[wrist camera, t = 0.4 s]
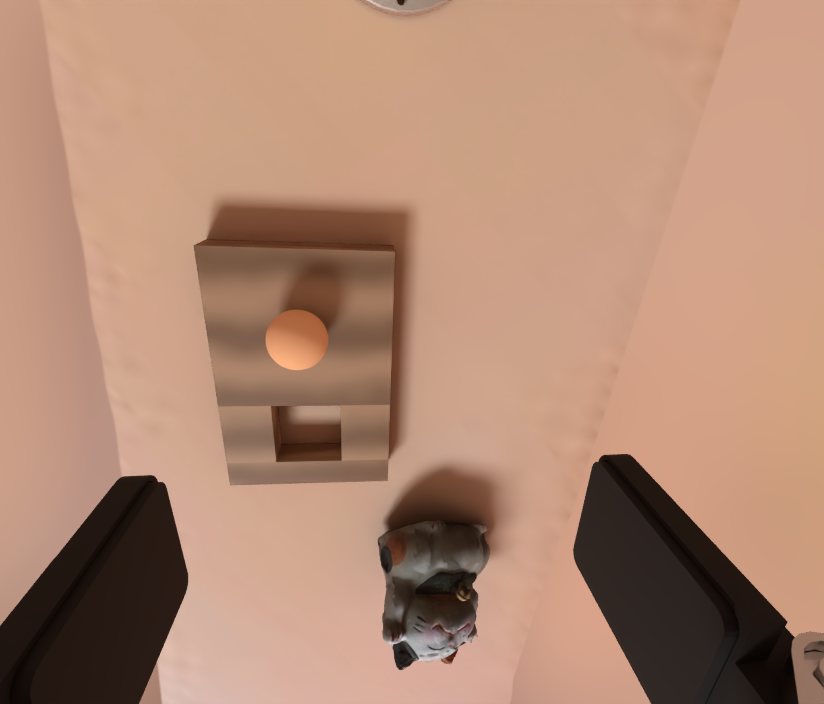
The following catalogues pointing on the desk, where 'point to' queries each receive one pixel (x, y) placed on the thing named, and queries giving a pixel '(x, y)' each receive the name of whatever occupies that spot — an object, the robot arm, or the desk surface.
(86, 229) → the desk surface
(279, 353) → the ball
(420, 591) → the lucky cat figurine
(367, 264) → the board
